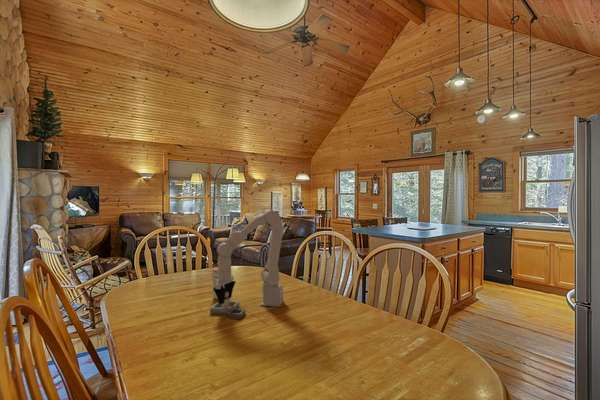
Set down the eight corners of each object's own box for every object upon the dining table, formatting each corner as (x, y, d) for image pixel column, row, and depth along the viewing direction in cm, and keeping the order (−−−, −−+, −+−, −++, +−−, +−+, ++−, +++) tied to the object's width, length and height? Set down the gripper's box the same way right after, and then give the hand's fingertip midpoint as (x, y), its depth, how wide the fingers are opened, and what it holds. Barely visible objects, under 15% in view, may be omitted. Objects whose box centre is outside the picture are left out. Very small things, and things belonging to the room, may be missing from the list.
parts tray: (239, 307, 141) (239, 301, 141) (230, 315, 132) (230, 309, 132) (219, 305, 143) (219, 300, 143) (210, 313, 133) (210, 307, 133)
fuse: (230, 307, 139) (229, 291, 138) (226, 310, 135) (226, 294, 135) (223, 306, 139) (223, 291, 139) (220, 309, 136) (220, 293, 136)
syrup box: (220, 300, 151) (219, 270, 150) (212, 297, 154) (212, 269, 154) (229, 297, 155) (228, 268, 155) (221, 294, 159) (221, 266, 158)
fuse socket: (245, 314, 133) (245, 309, 133) (240, 319, 127) (240, 314, 127) (233, 313, 134) (233, 308, 134) (227, 318, 128) (227, 313, 128)
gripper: (223, 265, 145) (223, 294, 145) (208, 273, 131) (209, 305, 131) (237, 266, 143) (237, 295, 144) (224, 274, 129) (224, 306, 129)
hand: (225, 300), depth 137 cm, fingers open, 7 cm apart
